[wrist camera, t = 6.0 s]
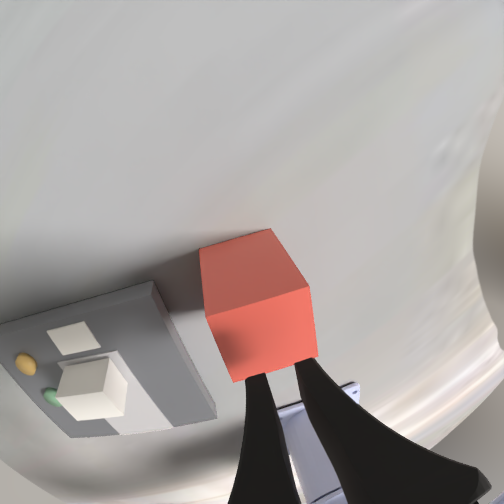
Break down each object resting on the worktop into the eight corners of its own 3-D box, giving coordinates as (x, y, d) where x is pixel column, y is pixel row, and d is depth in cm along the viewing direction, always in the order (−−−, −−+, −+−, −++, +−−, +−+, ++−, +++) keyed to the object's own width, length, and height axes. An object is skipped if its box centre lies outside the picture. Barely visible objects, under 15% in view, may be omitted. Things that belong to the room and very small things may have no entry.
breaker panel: (215, 403, 22) (218, 424, 20) (73, 425, 21) (69, 443, 19) (153, 280, 17) (150, 301, 15) (-9, 327, 16) (-20, 345, 14)
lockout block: (282, 288, 19) (318, 356, 13) (218, 307, 18) (233, 382, 13) (270, 228, 17) (309, 285, 11) (198, 248, 16) (205, 317, 11)
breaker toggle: (127, 382, 17) (123, 415, 15) (83, 390, 17) (77, 420, 15) (109, 357, 16) (102, 391, 14) (64, 366, 16) (55, 397, 14)
